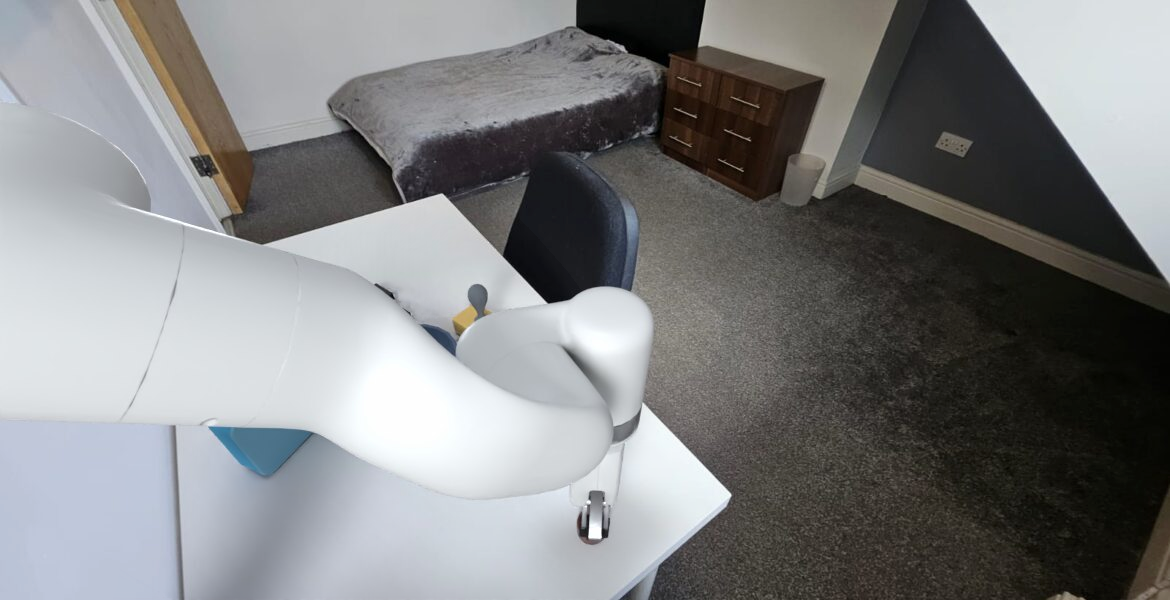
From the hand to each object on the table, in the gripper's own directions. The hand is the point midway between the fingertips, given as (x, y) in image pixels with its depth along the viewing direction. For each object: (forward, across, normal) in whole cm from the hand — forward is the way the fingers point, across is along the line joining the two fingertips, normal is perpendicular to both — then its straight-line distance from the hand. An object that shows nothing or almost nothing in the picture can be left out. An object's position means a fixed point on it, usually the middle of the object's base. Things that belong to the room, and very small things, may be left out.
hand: (594, 493), depth 55 cm
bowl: (+10, -22, -31) cm, 39 cm away
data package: (+10, -10, -46) cm, 48 cm away
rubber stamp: (+10, -34, -22) cm, 42 cm away
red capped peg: (+10, 0, 0) cm, 10 cm away
